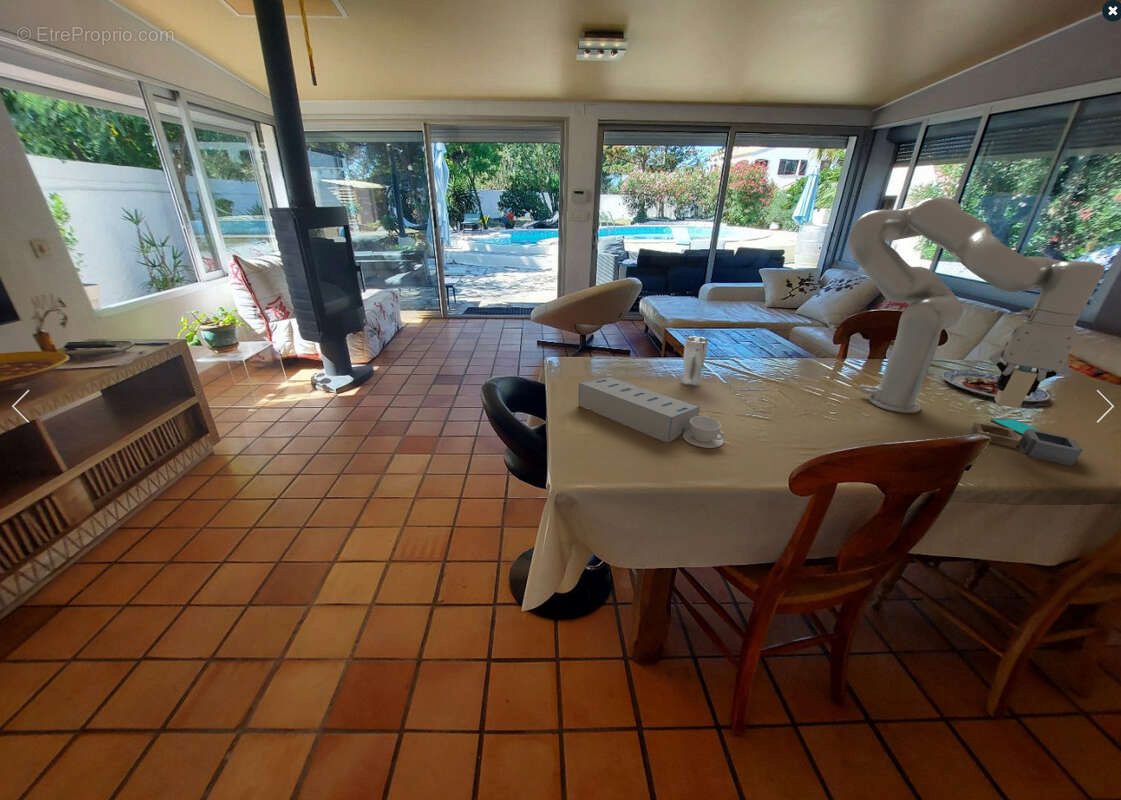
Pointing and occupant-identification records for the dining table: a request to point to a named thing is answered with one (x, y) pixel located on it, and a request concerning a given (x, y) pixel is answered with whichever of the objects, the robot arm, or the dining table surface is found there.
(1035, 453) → the socket
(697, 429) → the teacup
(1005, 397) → the plug
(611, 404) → the slotted grey box
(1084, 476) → the dining table surface
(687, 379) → the beer glass
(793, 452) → the dining table surface
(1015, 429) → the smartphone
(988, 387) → the ceramic plate
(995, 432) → the holster
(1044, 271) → the robot arm
